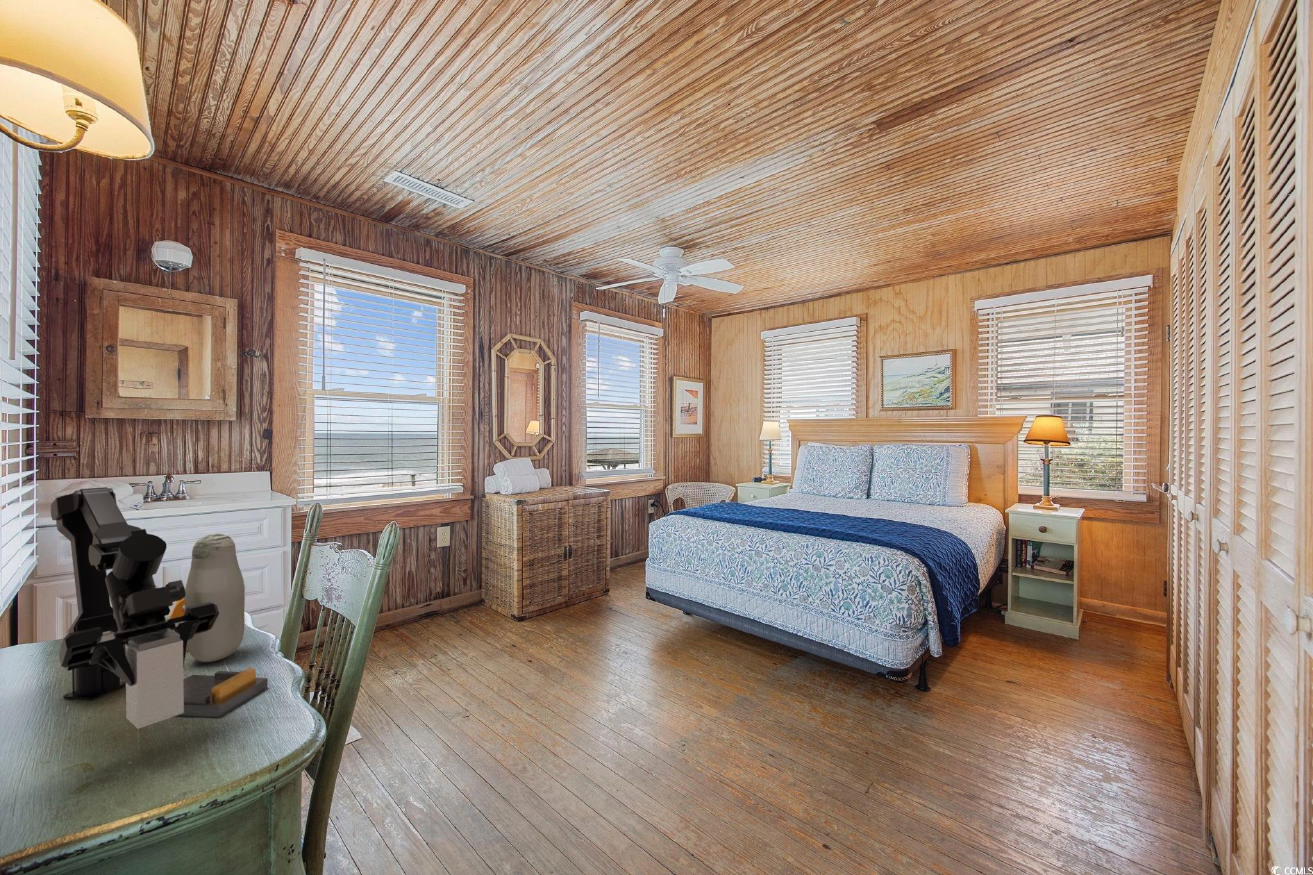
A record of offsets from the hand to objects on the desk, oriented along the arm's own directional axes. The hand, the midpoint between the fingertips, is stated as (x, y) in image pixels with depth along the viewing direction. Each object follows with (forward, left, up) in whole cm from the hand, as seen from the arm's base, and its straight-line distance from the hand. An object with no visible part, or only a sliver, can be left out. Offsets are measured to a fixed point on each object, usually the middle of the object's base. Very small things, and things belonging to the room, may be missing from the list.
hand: (157, 677), depth 87 cm
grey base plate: (-7, +16, -12) cm, 21 cm away
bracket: (-33, +39, -12) cm, 52 cm away
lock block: (-1, +1, -7) cm, 7 cm away
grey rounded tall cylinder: (-21, +33, -12) cm, 41 cm away
